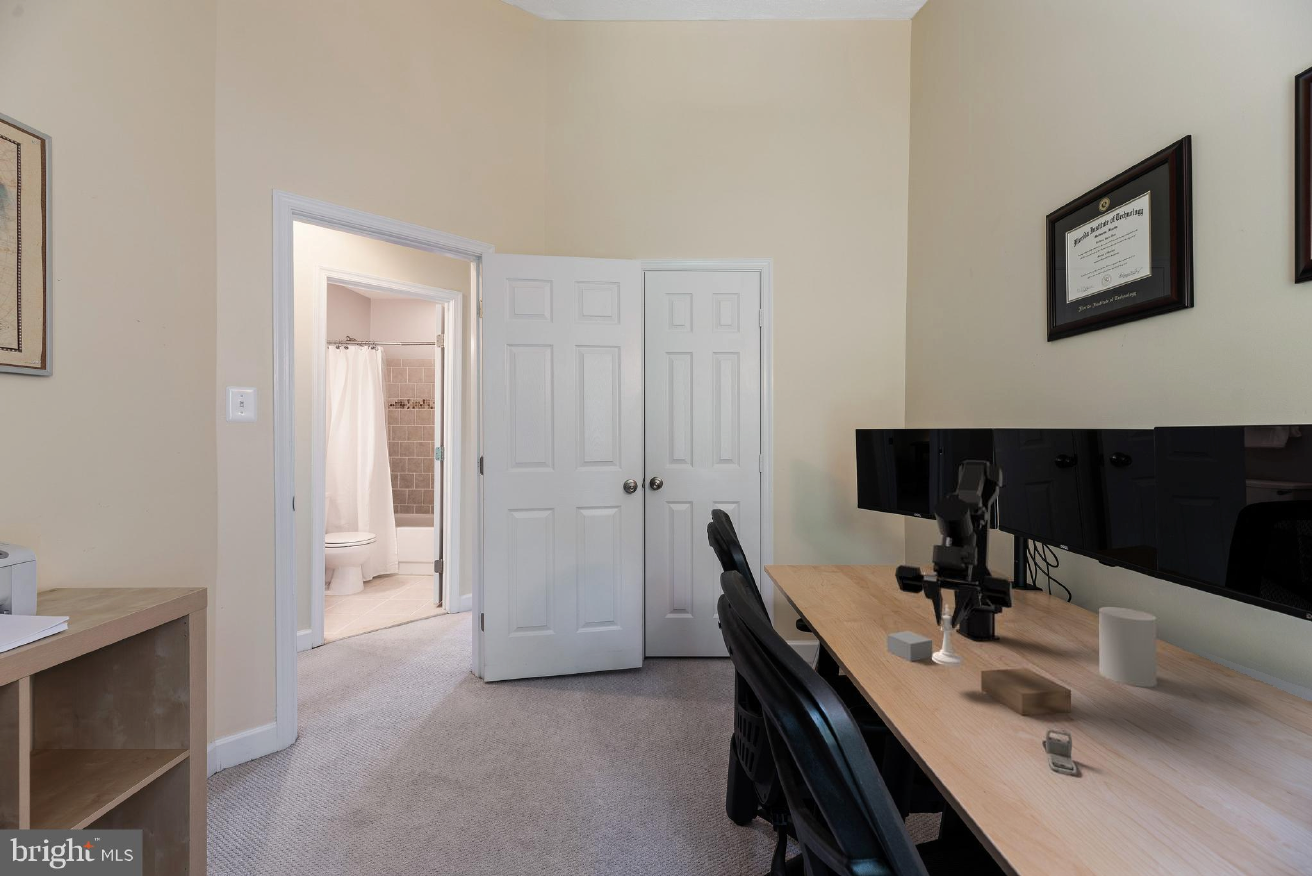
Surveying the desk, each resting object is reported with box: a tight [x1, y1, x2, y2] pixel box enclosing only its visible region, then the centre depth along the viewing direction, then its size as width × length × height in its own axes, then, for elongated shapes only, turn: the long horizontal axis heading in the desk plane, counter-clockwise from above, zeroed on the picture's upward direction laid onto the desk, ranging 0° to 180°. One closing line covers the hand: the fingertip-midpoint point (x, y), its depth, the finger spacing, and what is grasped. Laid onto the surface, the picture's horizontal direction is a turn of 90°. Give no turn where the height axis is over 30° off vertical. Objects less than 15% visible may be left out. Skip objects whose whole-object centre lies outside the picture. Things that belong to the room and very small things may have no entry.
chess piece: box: [931, 604, 964, 667], centre depth 98 cm, size 5×5×10 cm
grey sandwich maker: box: [1041, 727, 1078, 777], centre depth 76 cm, size 8×3×4 cm, turn 152°
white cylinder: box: [1098, 606, 1157, 688], centre depth 103 cm, size 8×8×12 cm
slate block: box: [886, 630, 933, 662], centre depth 114 cm, size 6×6×4 cm
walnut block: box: [980, 667, 1072, 716], centre depth 94 cm, size 9×9×4 cm
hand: (945, 626), depth 97 cm, fingers closed on chess piece
